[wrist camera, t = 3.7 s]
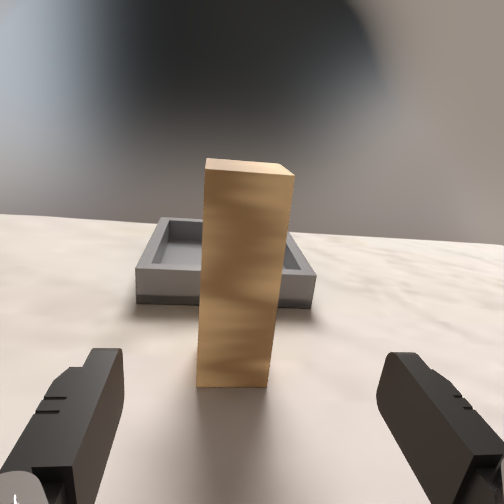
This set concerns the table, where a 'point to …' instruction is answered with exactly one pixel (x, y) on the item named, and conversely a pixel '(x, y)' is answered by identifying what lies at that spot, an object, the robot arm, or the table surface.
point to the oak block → (241, 270)
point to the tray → (189, 268)
